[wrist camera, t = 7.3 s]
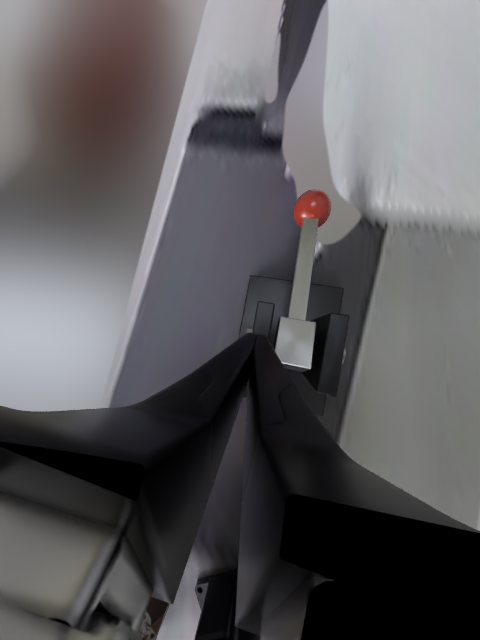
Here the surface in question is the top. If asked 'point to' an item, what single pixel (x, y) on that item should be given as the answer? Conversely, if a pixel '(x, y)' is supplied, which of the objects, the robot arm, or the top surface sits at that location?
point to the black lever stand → (323, 308)
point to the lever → (302, 286)
